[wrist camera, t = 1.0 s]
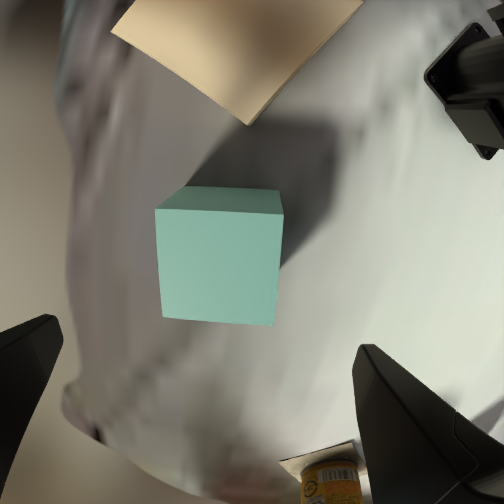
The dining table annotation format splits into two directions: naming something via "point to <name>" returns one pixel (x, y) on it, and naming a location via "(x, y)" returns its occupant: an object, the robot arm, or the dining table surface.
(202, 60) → the beech block
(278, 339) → the dining table surface
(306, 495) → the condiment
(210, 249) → the teal cube
